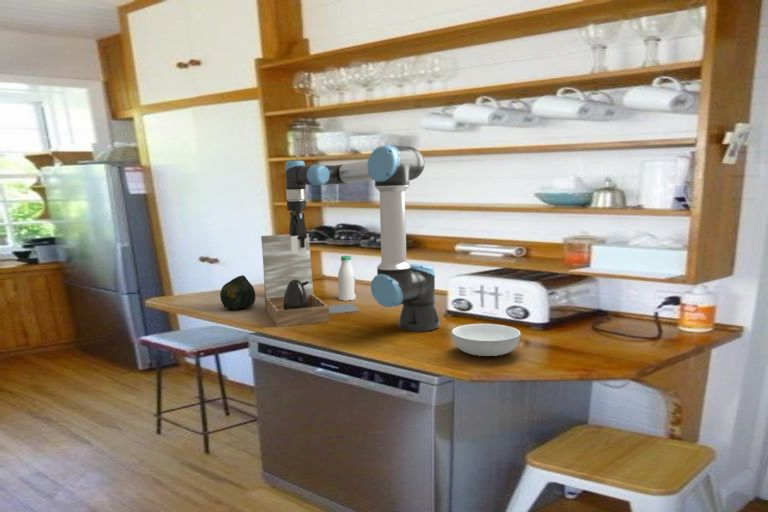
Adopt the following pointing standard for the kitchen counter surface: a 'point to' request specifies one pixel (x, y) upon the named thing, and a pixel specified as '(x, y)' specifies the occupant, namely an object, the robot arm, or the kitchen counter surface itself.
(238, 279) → the squash
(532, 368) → the kitchen counter surface
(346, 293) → the milk bottle
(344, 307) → the slate mat
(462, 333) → the serving bowl
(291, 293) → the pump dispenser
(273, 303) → the box
